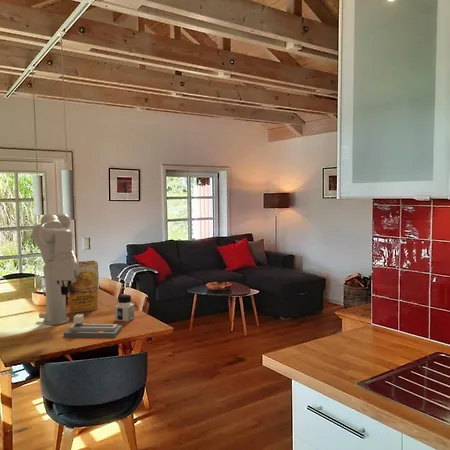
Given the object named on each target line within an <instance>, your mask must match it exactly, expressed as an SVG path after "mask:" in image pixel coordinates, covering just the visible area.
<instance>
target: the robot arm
mask: <svg viewBox="0 0 450 450" xmlns="http://www.w3.org/2000/svg"><path fill="white" fill-rule="evenodd" d="M70 226H71V219H70V216H69V215H68V214H66V213H47V214H44V215H43V216H42V217H41V218H40V223H38V224H35V225H34V226H33V228H32V230H31V235H32V240H33V242H34V244H35V246H36V247H37V248H38V250H39V251H40V254H41V258H42V261H43V263H44V265H43V269H42V270H43V271H42V272H43V276H44V282H45V309H46V310H45V313H39V314H38V318H39V319H43V321H42V322H43V325H47V326H58V325H63V324H66V323H69V322H70V317H69V316H67V296H66V295H69V294H68V292H69V290H68V286H69V285H70V284H71V283H73V282H76V277H77V276H78V275H79V273H80V267H79V263H78V262H79V261H78V258H77V256H76V252H75V251H74V250H73V232H72V230H71V229H70Z"/></svg>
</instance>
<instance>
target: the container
mask: <svg viewBox="0 0 450 450" xmlns="http://www.w3.org/2000/svg"><path fill="white" fill-rule="evenodd" d="M117 303H118V304H117V305H115V306H114V321H115V322H116V321H118V322H130V321H131V320H133V319H134V318H135V303H132V296H131V294H126V293H125V294H119V295H118V296H117Z"/></svg>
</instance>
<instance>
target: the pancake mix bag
mask: <svg viewBox="0 0 450 450" xmlns="http://www.w3.org/2000/svg"><path fill="white" fill-rule="evenodd" d="M78 263H79V267H80V273H79V275H78V276H77V277H76V282H73V283H71V284H70V285H69V286H68V290H69V292H68V294H67V295H68V300H69V309H68V314H69V313H73V314H76V313H85V312H91V311H95V310H97V309H99V306H98V300H99V286H100V285H99V283H100V282H99V279H100V278H99V264H98V262H97V261H96V260H87V261H86V260H85V261H78Z"/></svg>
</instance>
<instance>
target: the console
mask: <svg viewBox="0 0 450 450" xmlns="http://www.w3.org/2000/svg"><path fill="white" fill-rule="evenodd" d="M122 330H123V325H121V324H117V323H115V324H114V323H82V327H75V323H72V324H71V325H70V326H69V327H68V329H66V330H65V331H63V338H116V337H117V336H118V335H119V334H120V332H121V331H122Z"/></svg>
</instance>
